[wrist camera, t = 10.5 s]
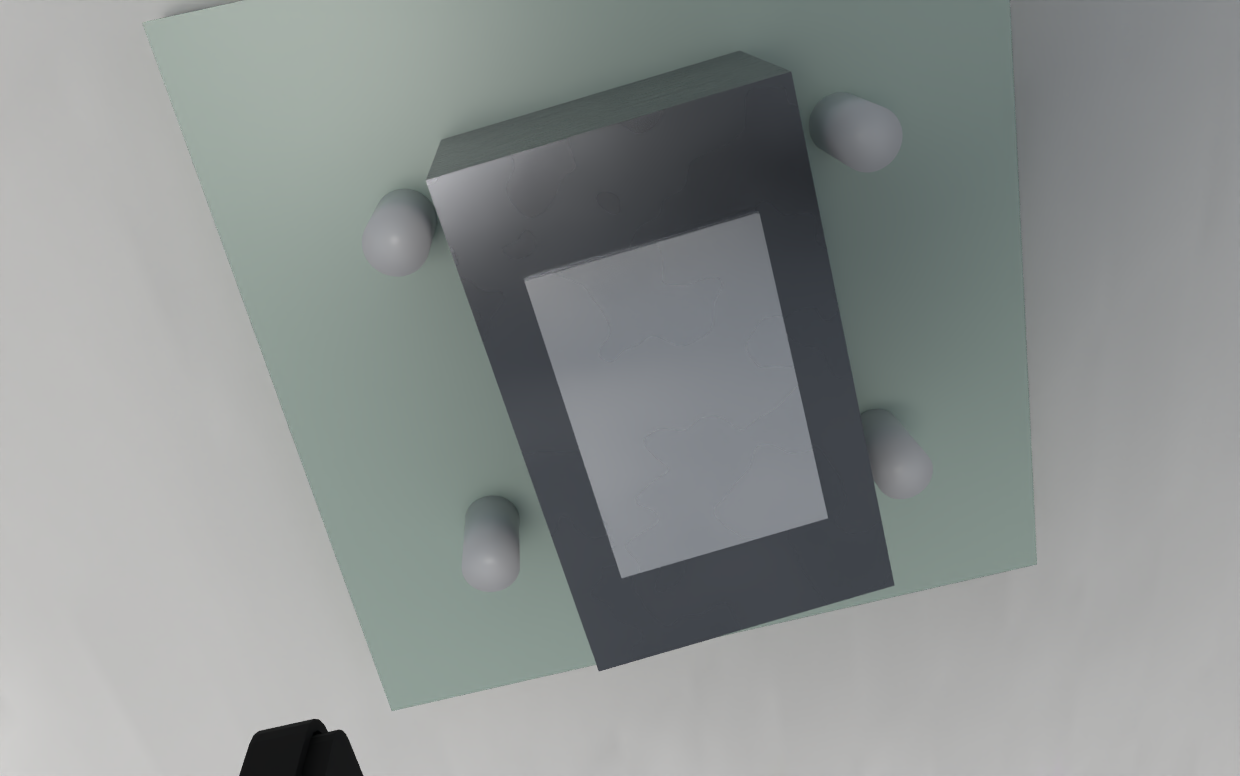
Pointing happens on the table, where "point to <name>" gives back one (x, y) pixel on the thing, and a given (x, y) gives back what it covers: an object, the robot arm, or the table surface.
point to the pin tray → (450, 340)
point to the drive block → (670, 352)
